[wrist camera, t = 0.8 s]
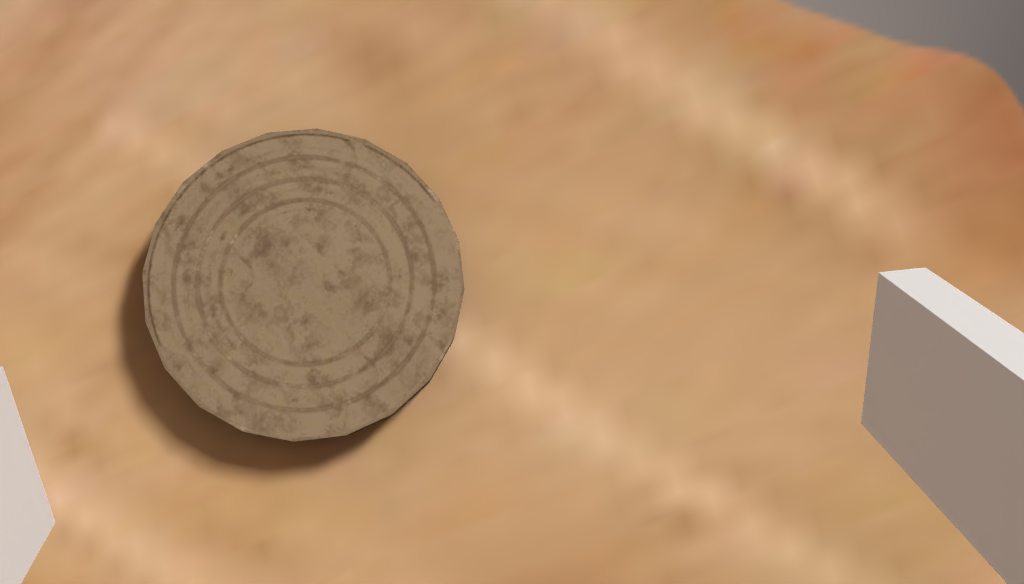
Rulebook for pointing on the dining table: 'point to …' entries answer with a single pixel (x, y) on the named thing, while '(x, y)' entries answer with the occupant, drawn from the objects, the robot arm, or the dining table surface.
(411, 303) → the round stone disc
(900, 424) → the robot arm
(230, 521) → the dining table surface
